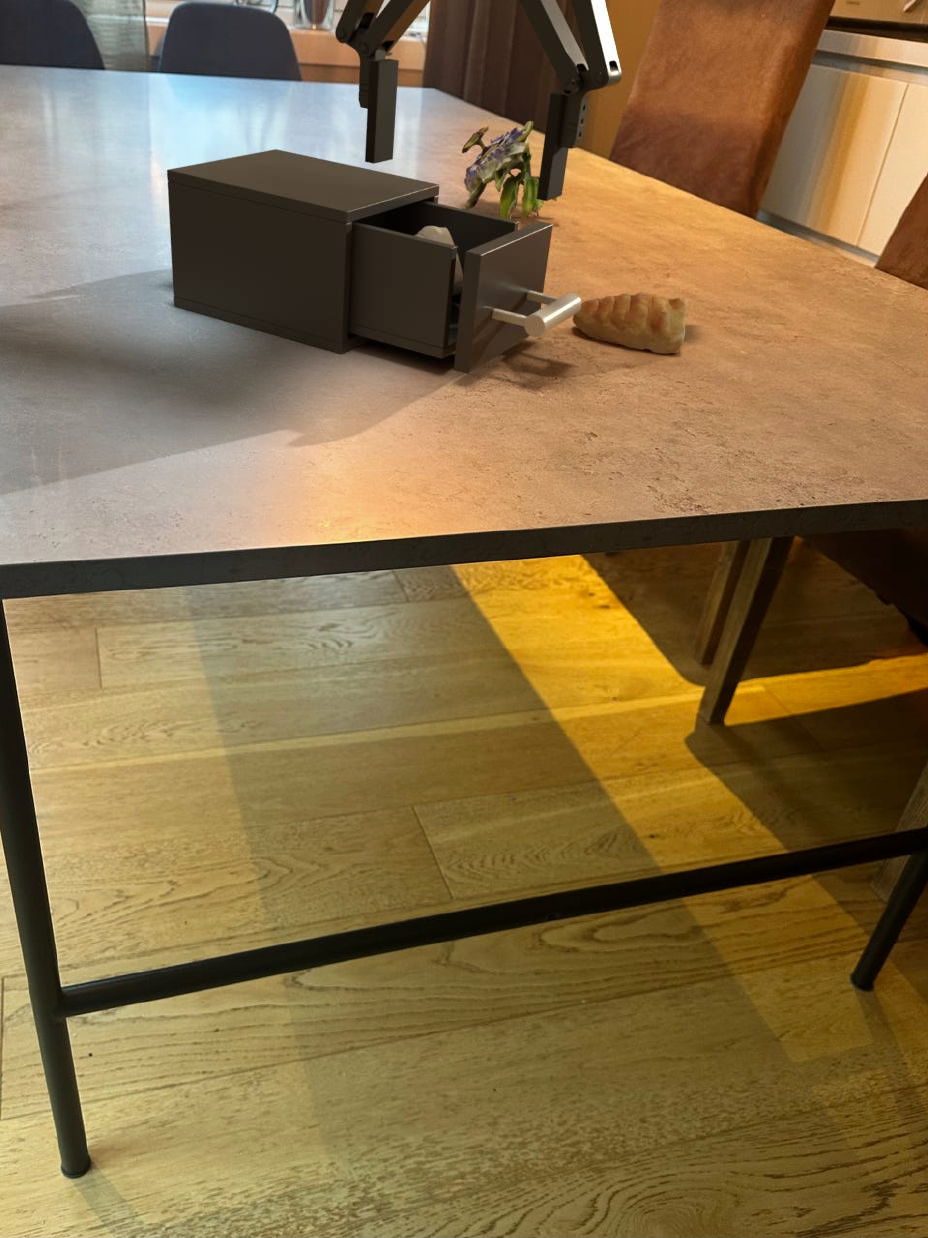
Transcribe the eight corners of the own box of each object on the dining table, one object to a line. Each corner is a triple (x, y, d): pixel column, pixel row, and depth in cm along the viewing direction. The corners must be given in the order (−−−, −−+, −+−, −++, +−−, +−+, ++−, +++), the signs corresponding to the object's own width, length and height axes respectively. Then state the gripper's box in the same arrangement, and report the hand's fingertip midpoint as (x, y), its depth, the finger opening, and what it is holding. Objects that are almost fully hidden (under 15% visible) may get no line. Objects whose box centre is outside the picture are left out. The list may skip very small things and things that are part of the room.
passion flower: (467, 256, 124) (451, 155, 124) (557, 244, 125) (542, 144, 125) (475, 219, 113) (458, 109, 112) (574, 206, 113) (557, 97, 113)
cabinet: (429, 311, 88) (439, 184, 82) (341, 354, 77) (346, 211, 72) (275, 271, 93) (275, 148, 87) (173, 305, 83) (166, 169, 77)
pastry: (568, 341, 85) (576, 294, 83) (572, 317, 91) (579, 272, 89) (684, 358, 84) (694, 310, 82) (680, 332, 90) (690, 288, 88)
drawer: (586, 344, 82) (605, 235, 78) (521, 389, 73) (538, 268, 68) (381, 290, 88) (387, 186, 84) (297, 326, 79) (298, 211, 74)
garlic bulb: (392, 323, 83) (368, 257, 83) (463, 299, 83) (440, 233, 83) (392, 308, 78) (367, 236, 77) (468, 282, 78) (444, 210, 77)
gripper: (287, -224, 64) (284, 151, 75) (678, -193, 55) (607, 222, 67) (353, -205, 69) (340, 140, 81) (716, -175, 61) (644, 205, 73)
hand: (461, 178), depth 74 cm, fingers open, 13 cm apart
